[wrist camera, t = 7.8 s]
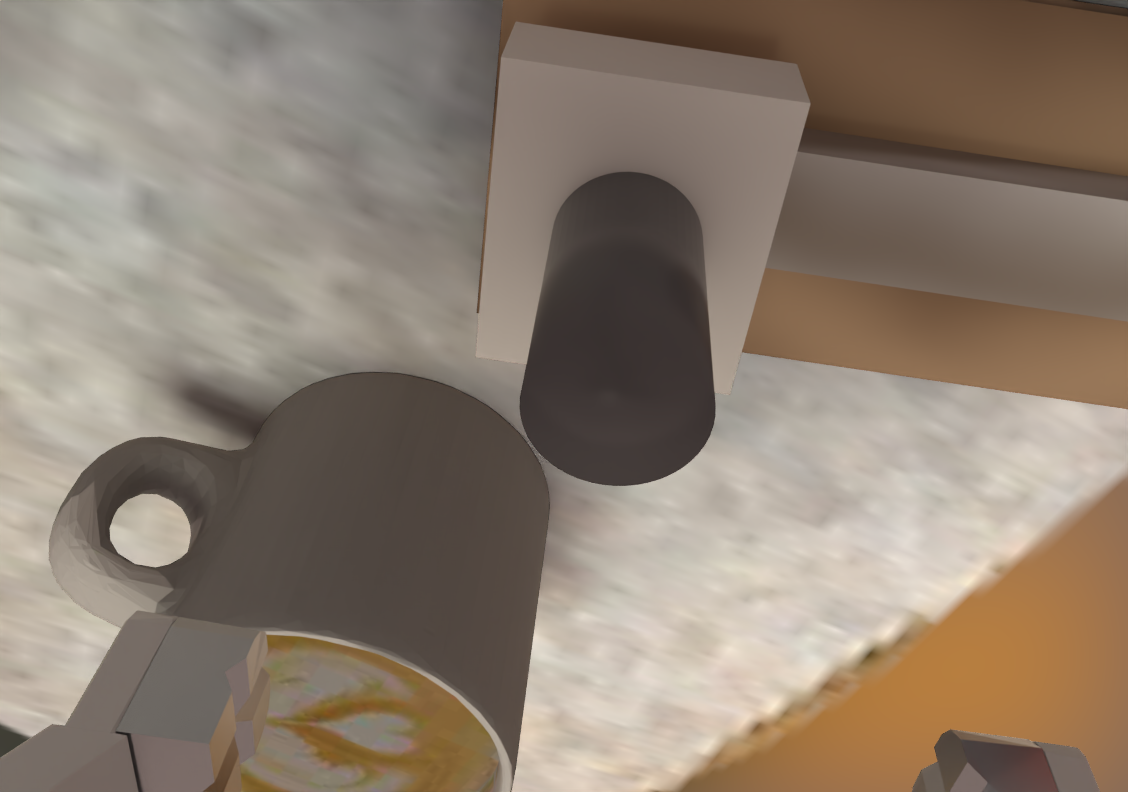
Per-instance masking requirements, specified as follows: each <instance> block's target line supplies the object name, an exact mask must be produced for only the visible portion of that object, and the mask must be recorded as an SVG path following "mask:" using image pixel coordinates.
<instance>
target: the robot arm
mask: <svg viewBox="0 0 1128 792" xmlns="http://www.w3.org/2000/svg"><path fill="white" fill-rule="evenodd" d="M267 652H268V645H267V636H266V632H264V631H259V630H253V629H247V628H241V627H235V626H230V625H224V624H218V623H212V622H207V621H201V620H195V619H189V618H183V617H177V616H171V615H164V614H158V613H151V612H145V611H138V610H137V611H136V612H135V613H134V614H133V615H132V616H131V617H130V618H128V619H127V620H126V621H125V623H124V625H123V626H122V628H121V630H120V631H119V633H118V635H117V637H116V638H115V640H114V642H113V644H112V645H111V647H110V649H109V650H108V652H107V654H106V656H105V657H104V659H103V661H102V663H101V664H100V666H99V668H98V669H97V671H96V673H95V675H94V676H93V678H92V680H91V682H90V683H89V685H88V687H87V688H86V690H85V692H84V694H83V695H82V697H81V699H80V701H79V702H78V704H77V706H76V707H75V709H74V711H73V713H72V714H71V716H70V718H69V719H68V721H67V723H66V725H65V726H63V725H54V724H52V725H50V726H49V727H47V728H46V729H44V730H42V731H41V732H39V733H38V734H36V735H35V736H33V737H32V738H30V739H29V740H27V741H25V742H24V743H22V744H21V745H19V746H18V747H16V748H15V749H13V750H12V751H10V752H9V753H7V754H5V755H4V756H2V757H1V758H0V792H241V789H242V782H241V771H240V765H241V764H242V763H244V762H245V761H246V760H248V759H249V758H250V757H251V756H253V755H254V754H255V752H256V750H257V747H258V744H259V741H260V739H261V736H262V733H263V730H264V725H265V721H266V717H267V713H268V709H269V700H270V675H269V674H268V673H267V672H266V671H265V670H264V669H263V668H262V665H263V662H264V660H265V657H266V655H267ZM934 749H935V752H936V756H937V760H938V762H936V763H934V764H932V765H930V766H928V767H926V768H924V769H922V770H921V772H920V774H919V776H918V778H917V780H916V782H915V784H914V786H913V790H912V792H1100V790H1099V788H1098V785H1097V783H1096V781H1095V778H1094V776H1093V773H1092V771H1091V769H1090V766H1089V764H1088V761H1087V759H1086V757H1085V756H1084V754H1083V753H1082V752H1081V751H1080V750H1079V749H1078V748H1075V747H1069V746H1062V745H1055V744H1048V743H1041V742H1031V741H1030V740H1027V739H1019V738H1012V737H1004V736H997V735H988V734H981V733H973V732H966V731H958V730H949V731H947V732H945V733H943V734H942V735H941V737H940V738H939V740H938V742H937V743H936V745H935V747H934Z"/></svg>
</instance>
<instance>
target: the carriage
mask: <svg viewBox="0 0 1128 792" xmlns="http://www.w3.org/2000/svg"><path fill="white" fill-rule="evenodd" d="M810 104H811V103H810V100H809V97H808V95H807V92H806V89H805V86H804V83H803V80H802V77H801V74H800V72H799V69H798V66H797V64H794V63H787V62H781V61H774V60H768V59H761V58H754V57H748V56H741V55H734V54H728V53H721V52H714V51H708V50H701V49H695V48H688V47H681V46H675V45H668V44H661V43H655V42H648V41H641V40H635V39H628V38H622V37H615V36H608V35H602V34H595V33H588V32H582V31H575V30H568V29H562V28H555V27H549V26H542V25H535V24H529V23H522V22H515V25H514V27H513V29H512V32H511V34H510V37H509V39H508V41H507V44H506V46H505V49H504V51H503V53H502V56H501V63H500V75H499V87H498V98H497V110H496V121H495V133H494V145H493V156H492V168H491V180H490V191H489V203H488V215H487V226H486V238H485V249H484V261H483V273H482V284H481V296H480V308H479V319H478V331H477V342H476V354H475V357H477V358H484V359H490V360H497V361H504V362H511V363H517V364H524V365H526V370H525V375H524V380H523V385H522V390H521V395H520V414H521V420H522V423H523V427H524V429H525V432H526V434H527V436H528V438H529V439H530V441H531V443H532V444H533V446H534V447H535V448H536V449H537V450H538V452H539V453H540V454H541V455H542V456H543V457H544V458H545V459H546V460H548V461H549V462H550V463H551V464H553V465H554V466H556V467H557V468H558V469H560V470H562V471H564V472H566V473H567V474H569V475H572V476H574V477H576V478H579V479H582V480H585V481H588V482H592V483H597V484H602V485H613V486H628V485H638V484H643V483H648V482H652V481H655V480H658V479H661V478H664V477H666V476H668V475H670V474H672V473H674V472H676V471H677V470H679V469H681V468H682V467H684V466H685V465H686V464H688V463H689V462H690V461H691V460H692V459H693V458H694V457H695V456H696V455H697V454H698V453H699V452H700V451H701V449H702V448H703V447H704V445H705V444H706V442H707V440H708V438H709V436H710V434H711V431H712V428H713V425H714V420H715V393H721V394H728V395H730V392H731V389H732V385H733V382H734V378H735V374H736V371H737V367H738V364H739V360H740V356H741V353H742V349H743V346H744V342H745V338H746V335H747V331H748V328H749V324H750V320H751V317H752V313H753V310H754V306H755V302H756V299H757V295H758V292H759V288H760V284H761V281H762V277H763V274H764V270H765V266H766V263H767V259H768V255H769V252H770V248H771V245H772V241H773V237H774V234H775V230H776V227H777V223H778V219H779V216H780V212H781V209H782V205H783V201H784V198H785V194H786V191H787V187H788V183H789V180H790V176H791V173H792V169H793V165H794V162H795V158H796V155H797V151H798V147H799V144H800V140H801V137H802V133H803V129H804V126H805V122H806V118H807V115H808V111H809V108H810Z"/></svg>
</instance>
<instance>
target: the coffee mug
mask: <svg viewBox="0 0 1128 792" xmlns="http://www.w3.org/2000/svg"><path fill="white" fill-rule="evenodd" d="M140 494H158V495H160V496H162V497H165V498H167V499H169V500H172V501H174V502H175V503H176V504H177V505H178V506H180V507H181V508H182V509H183V511H184V513H185V514H186V516H187V518H188V521H189V523H190V529H191V538H190V545H189V548H188V552H187V553H186V554H185V555H184V556H183V557H182V558H180V559H178V560H177V561H175V562H173V563H171V564H169V565H165V566H160V567H156V568H155V567H149V566H143V565H137V564H134V563H132V562H131V561H129V560H127V559H126V558H124V557H123V556H121V555H120V554H118V553H117V551H116V549H115V548H114V546H113V544H112V543H111V541H110V530H109V528H110V525H111V522H112V519H113V516H114V515H115V513H116V511H117V509H118V508H119V507H120V506H121V505H122V504H123V503H124V502H125V501H126V500H128V499H130V498H133V497H135V496H138V495H140ZM549 509H550V504H549V492H548V487H547V483H546V479H545V476H544V473H543V471H542V468H541V465H540V464H539V462H538V460H537V459H536V457H535V455H534V454H533V452H532V450H531V449H530V447H529V445H528V444H527V443H526V441H525V440H524V439H523V438H522V436H521V435H520V434H519V433H518V432H517V431H516V430H515V429H514V428H513V427H512V426H511V425H510V424H509V423H508V422H507V421H505V420H504V419H503V418H502V417H501V416H499V415H498V414H497V413H496V412H494V411H493V410H492V409H490V408H489V407H487V406H486V405H484V404H483V403H481V402H480V401H478V400H476V399H474V398H472V397H470V396H468V395H466V394H464V393H462V392H460V391H458V390H456V389H454V388H452V387H449V386H446V385H443V384H440V383H437V382H433V381H430V380H426V379H422V378H417V377H413V376H408V375H403V374H397V373H358V374H348V375H343V376H339V377H335V378H330V379H326V380H324V381H321V382H318V383H315V384H312V385H310V386H308V387H305V388H303V389H301V390H300V391H298V392H297V393H295V394H294V395H292V396H291V397H289V398H288V399H287V400H285V401H284V402H283V403H282V404H281V405H280V406H278V407H277V408H276V409H275V410H274V411H273V412H272V413H271V415H270V416H269V417H268V418H267V420H266V421H265V422H264V424H263V425H262V427H261V429H260V431H259V432H258V434H257V436H256V438H255V440H254V441H253V443H252V444H251V445H249V446H248V447H247V448H245V449H242V450H232V451H226V450H222V449H217V448H213V447H208V446H204V445H199V444H195V443H190V442H186V441H181V440H176V439H171V438H166V437H140V438H136V439H133V440H129V441H126V442H124V443H122V444H120V445H118V446H116V447H113V448H112V449H110V450H109V451H107V452H105V453H104V454H102V455H101V456H99V457H98V458H97V459H96V460H95V461H94V462H93V463H92V464H91V465H90V466H89V467H88V468H87V469H85V470H84V471H83V472H82V473H81V475H80V477H79V478H78V480H77V481H76V483H75V484H74V486H73V487H72V489H71V490H70V492H69V493H68V495H67V497H66V498H65V500H64V502H63V503H62V505H61V507H60V510H59V512H58V514H57V517H56V519H55V521H54V524H53V527H52V531H51V536H50V540H49V561H50V564H51V568H52V572H53V575H54V577H55V578H56V581H57V583H58V584H59V585H60V587H61V589H62V590H63V591H64V592H65V593H66V594H67V595H68V596H69V597H70V598H71V599H72V600H73V601H74V602H75V603H76V604H78V605H79V606H81V607H82V608H84V609H85V610H87V611H88V612H90V613H91V614H93V615H95V616H97V617H99V618H101V619H103V620H105V621H107V622H109V623H111V624H113V625H115V626H118V627H120V628H122V626H123V625H124V623H125V621H126V620H127V619H128V618H130V617H131V616H132V615H133V614H134V613H135V612H136V611H137V610H138V611H145V612H151V613H158V614H164V615H171V616H177V617H183V618H189V619H195V620H201V621H207V622H212V623H218V624H224V625H230V626H235V627H241V628H247V629H253V630H259V631H264V632H266V636H267V645H268V652H267V655H266V657H265V660H264V662H263V665H262V668H263V669H264V670H265V671H266V672H267V673H268V674H269V675H270V700H269V709H268V713H267V717H266V721H265V725H264V730H263V733H262V736H261V739H260V741H259V744H258V747H257V750H256V752H255V754H254V755H253V756H251V757H250V758H249V759H248V760H246V761H245V762H244V763H242V764H241V765H240V771H241V782H242V789H241V792H511V790H512V785H513V780H514V775H515V770H516V763H517V755H518V748H519V740H520V733H521V725H522V717H523V710H524V702H525V695H526V687H527V679H528V672H529V664H530V657H531V649H532V641H533V634H534V626H535V619H536V611H537V604H538V596H539V588H540V581H541V573H542V566H543V558H544V550H545V543H546V535H547V528H548V520H549Z"/></svg>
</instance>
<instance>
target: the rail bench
mask: <svg viewBox="0 0 1128 792" xmlns="http://www.w3.org/2000/svg"><path fill="white" fill-rule="evenodd" d="M515 22H522V23H529V24H535V25H542V26H549V27H555V28H562V29H568V30H575V31H582V32H588V33H595V34H602V35H608V36H615V37H622V38H628V39H635V40H641V41H648V42H655V43H661V44H668V45H675V46H681V47H688V48H695V49H701V50H708V51H714V52H721V53H728V54H734V55H741V56H748V57H754V58H761V59H768V60H774V61H781V62H787V63H794V64H797V66H798V69H799V72H800V74H801V77H802V80H803V83H804V86H805V89H806V92H807V95H808V97H809V100H810V103H811V104H810V108H809V111H808V115H807V118H806V122H805V126H804V129H803V133H802V137H801V140H800V144H799V147H798V151H797V155H796V158H795V162H794V165H793V169H792V173H791V176H790V180H789V183H788V187H787V191H786V194H785V198H784V201H783V205H782V209H781V212H780V216H779V219H778V223H777V227H776V230H775V234H774V237H773V241H772V245H771V248H770V252H769V255H768V259H767V263H766V266H765V270H764V274H763V277H762V281H761V284H760V288H759V292H758V295H757V299H756V302H755V306H754V310H753V313H752V317H751V320H750V324H749V328H748V331H747V335H746V338H745V342H744V346H743V349H742V352H745V353H751V354H758V355H765V356H772V357H779V358H785V359H792V360H799V361H806V362H812V363H819V364H826V365H833V366H839V367H846V368H853V369H860V370H867V371H873V372H880V373H887V374H894V375H900V376H907V377H914V378H921V379H927V380H934V381H941V382H948V383H955V384H961V385H968V386H975V387H982V388H988V389H995V390H1002V391H1009V392H1015V393H1022V394H1029V395H1036V396H1043V397H1049V398H1056V399H1063V400H1070V401H1076V402H1083V403H1090V404H1097V405H1103V406H1110V407H1117V408H1124V409H1128V9H1126V8H1119V7H1112V6H1106V5H1099V4H1093V3H1086V2H1079V1H1073V0H503V9H502V20H501V32H500V44H499V56H498V68H497V80H496V91H495V103H494V115H493V127H492V139H491V151H490V162H489V174H488V186H487V198H486V210H485V222H484V234H483V245H482V257H481V269H480V281H479V293H478V305H477V313H479V308H480V296H481V284H482V273H483V261H484V249H485V238H486V226H487V215H488V203H489V191H490V180H491V168H492V156H493V145H494V133H495V121H496V110H497V98H498V87H499V75H500V63H501V56H502V53H503V51H504V49H505V46H506V44H507V41H508V39H509V37H510V34H511V32H512V29H513V27H514V25H515Z"/></svg>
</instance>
